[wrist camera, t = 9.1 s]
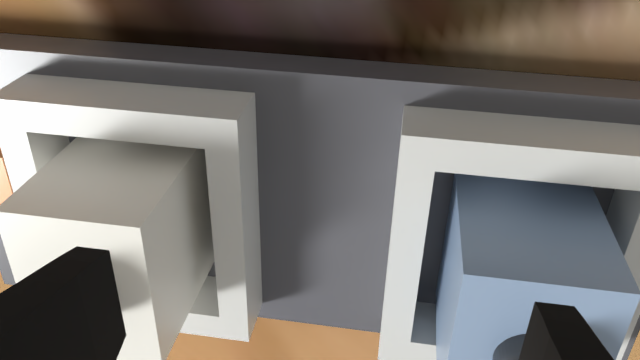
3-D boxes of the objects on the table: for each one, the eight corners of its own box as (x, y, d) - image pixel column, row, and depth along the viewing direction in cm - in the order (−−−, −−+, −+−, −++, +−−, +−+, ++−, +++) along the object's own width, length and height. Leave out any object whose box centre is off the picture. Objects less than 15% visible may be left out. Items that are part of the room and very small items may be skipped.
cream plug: (214, 260, 22) (140, 411, 16) (111, 248, 22) (3, 391, 17) (203, 139, 19) (110, 268, 13) (87, 127, 20) (-50, 248, 14)
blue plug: (552, 307, 20) (600, 489, 15) (435, 293, 21) (438, 464, 15) (590, 183, 18) (665, 347, 12) (455, 170, 18) (467, 321, 13)
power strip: (613, 334, 22) (642, 411, 19) (25, 260, 25) (-28, 318, 22) (709, 86, 17) (767, 139, 14) (-43, 29, 20) (-124, 64, 17)
